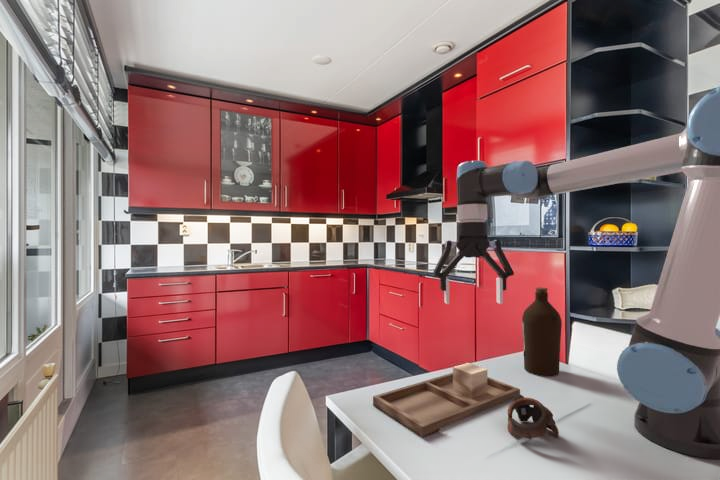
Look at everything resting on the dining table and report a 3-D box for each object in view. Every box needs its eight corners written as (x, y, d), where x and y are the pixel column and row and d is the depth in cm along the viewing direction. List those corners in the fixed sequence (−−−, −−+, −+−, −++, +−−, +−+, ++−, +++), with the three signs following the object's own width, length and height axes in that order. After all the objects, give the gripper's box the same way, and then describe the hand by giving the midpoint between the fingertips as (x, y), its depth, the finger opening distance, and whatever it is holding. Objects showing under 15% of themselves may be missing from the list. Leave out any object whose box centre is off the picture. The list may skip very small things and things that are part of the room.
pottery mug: (573, 448, 70) (561, 417, 68) (529, 469, 70) (516, 439, 68) (537, 404, 82) (526, 377, 79) (499, 423, 82) (487, 396, 79)
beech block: (487, 392, 92) (487, 369, 92) (471, 398, 89) (471, 374, 89) (468, 384, 97) (468, 362, 97) (453, 390, 94) (453, 367, 94)
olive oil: (566, 371, 109) (566, 288, 109) (554, 380, 102) (554, 291, 102) (529, 362, 117) (529, 284, 117) (516, 370, 109) (516, 288, 109)
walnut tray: (519, 397, 91) (520, 389, 91) (422, 437, 73) (422, 426, 73) (465, 376, 105) (465, 368, 105) (373, 405, 87) (373, 396, 87)
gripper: (515, 222, 98) (516, 300, 98) (422, 223, 99) (423, 301, 99) (526, 220, 91) (527, 305, 90) (426, 221, 92) (427, 305, 91)
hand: (473, 303), depth 95 cm, fingers open, 13 cm apart
